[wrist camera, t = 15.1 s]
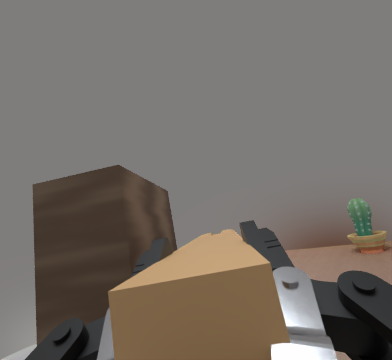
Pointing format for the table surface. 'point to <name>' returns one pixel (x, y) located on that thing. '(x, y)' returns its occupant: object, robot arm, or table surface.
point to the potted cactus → (364, 228)
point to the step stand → (92, 240)
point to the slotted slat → (200, 305)
